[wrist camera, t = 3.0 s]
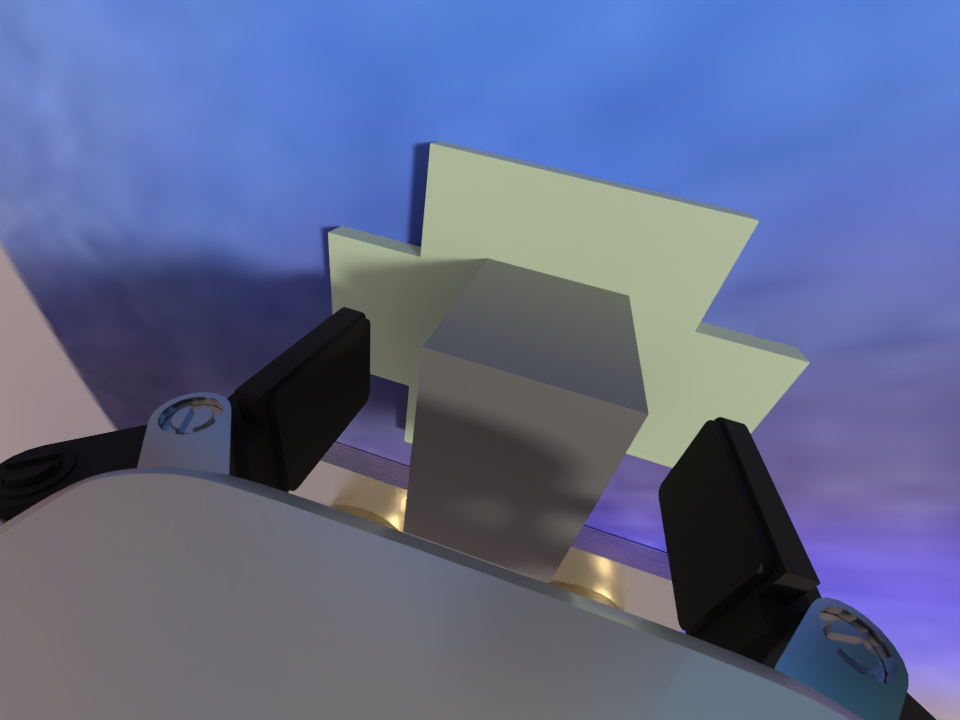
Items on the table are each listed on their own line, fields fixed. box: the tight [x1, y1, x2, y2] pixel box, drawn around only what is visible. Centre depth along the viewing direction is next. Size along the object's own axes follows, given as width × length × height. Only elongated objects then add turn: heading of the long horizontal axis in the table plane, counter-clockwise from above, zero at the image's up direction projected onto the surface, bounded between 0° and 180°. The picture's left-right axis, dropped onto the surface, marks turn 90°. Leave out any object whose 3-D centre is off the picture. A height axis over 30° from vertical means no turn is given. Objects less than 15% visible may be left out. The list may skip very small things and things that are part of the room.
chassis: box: [288, 442, 682, 631], centre depth 20 cm, size 20×18×7 cm
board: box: [328, 141, 810, 583], centre depth 11 cm, size 14×11×6 cm
